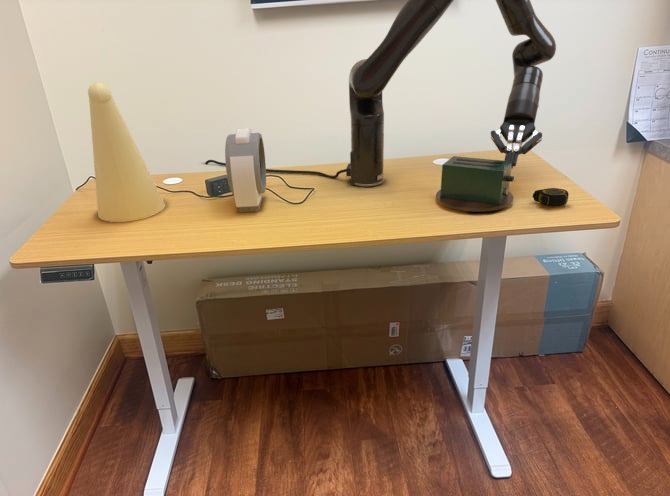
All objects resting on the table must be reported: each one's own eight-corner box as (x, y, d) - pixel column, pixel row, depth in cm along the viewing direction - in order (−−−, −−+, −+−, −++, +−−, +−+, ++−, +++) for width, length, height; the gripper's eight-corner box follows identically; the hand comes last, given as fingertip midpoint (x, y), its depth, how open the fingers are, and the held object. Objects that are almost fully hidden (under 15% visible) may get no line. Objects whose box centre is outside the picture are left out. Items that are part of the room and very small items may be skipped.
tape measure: (555, 199, 135) (558, 185, 133) (572, 208, 129) (575, 193, 127) (531, 202, 134) (533, 188, 133) (546, 211, 128) (549, 196, 127)
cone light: (100, 203, 154) (67, 75, 137) (164, 195, 158) (139, 68, 140) (92, 235, 133) (51, 88, 116) (166, 224, 137) (136, 79, 119)
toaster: (424, 205, 135) (426, 169, 130) (449, 183, 149) (452, 149, 144) (502, 216, 125) (507, 177, 121) (521, 191, 139) (526, 156, 135)
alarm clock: (263, 215, 138) (255, 137, 128) (231, 217, 138) (220, 139, 128) (269, 193, 153) (262, 121, 143) (240, 194, 154) (231, 123, 144)
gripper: (494, 97, 136) (481, 157, 133) (550, 98, 131) (538, 161, 127) (495, 114, 143) (483, 172, 139) (549, 115, 137) (537, 176, 134)
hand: (509, 166), depth 133 cm, fingers closed
